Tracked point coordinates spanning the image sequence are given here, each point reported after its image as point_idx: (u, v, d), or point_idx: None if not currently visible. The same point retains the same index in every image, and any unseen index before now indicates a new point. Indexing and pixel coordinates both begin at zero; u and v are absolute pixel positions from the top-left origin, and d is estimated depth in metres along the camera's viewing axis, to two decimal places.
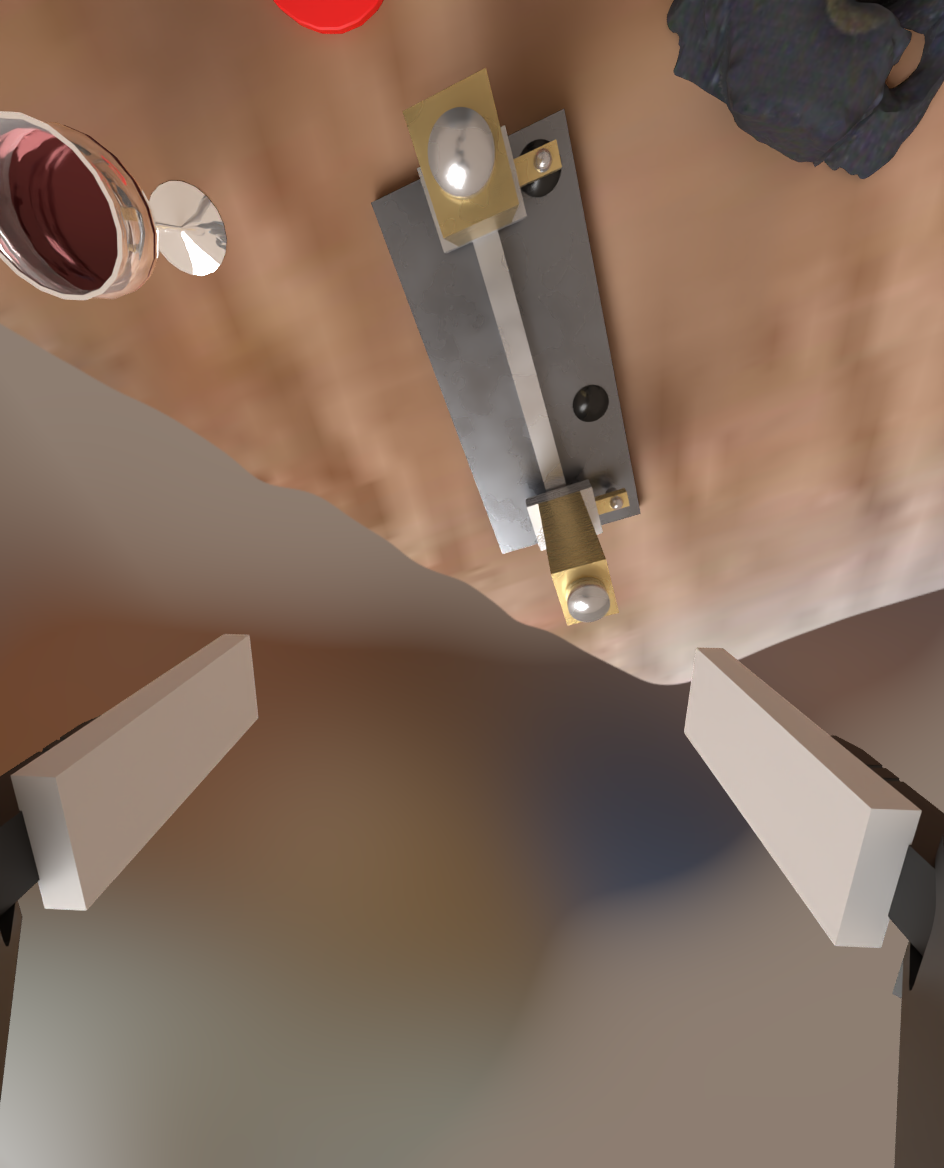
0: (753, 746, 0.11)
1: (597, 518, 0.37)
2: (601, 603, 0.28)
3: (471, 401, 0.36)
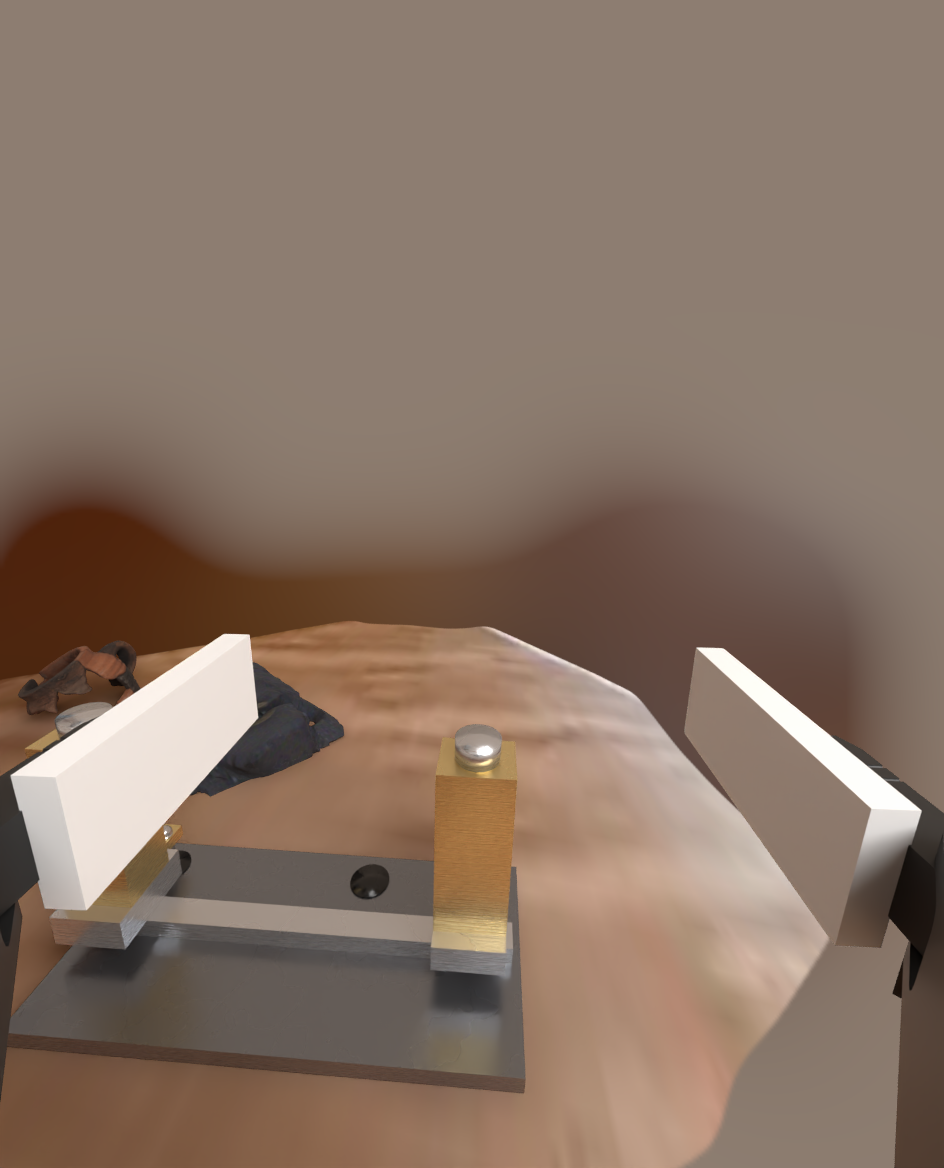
0: (753, 746, 0.11)
1: None
2: (480, 729, 0.26)
3: (271, 1012, 0.25)
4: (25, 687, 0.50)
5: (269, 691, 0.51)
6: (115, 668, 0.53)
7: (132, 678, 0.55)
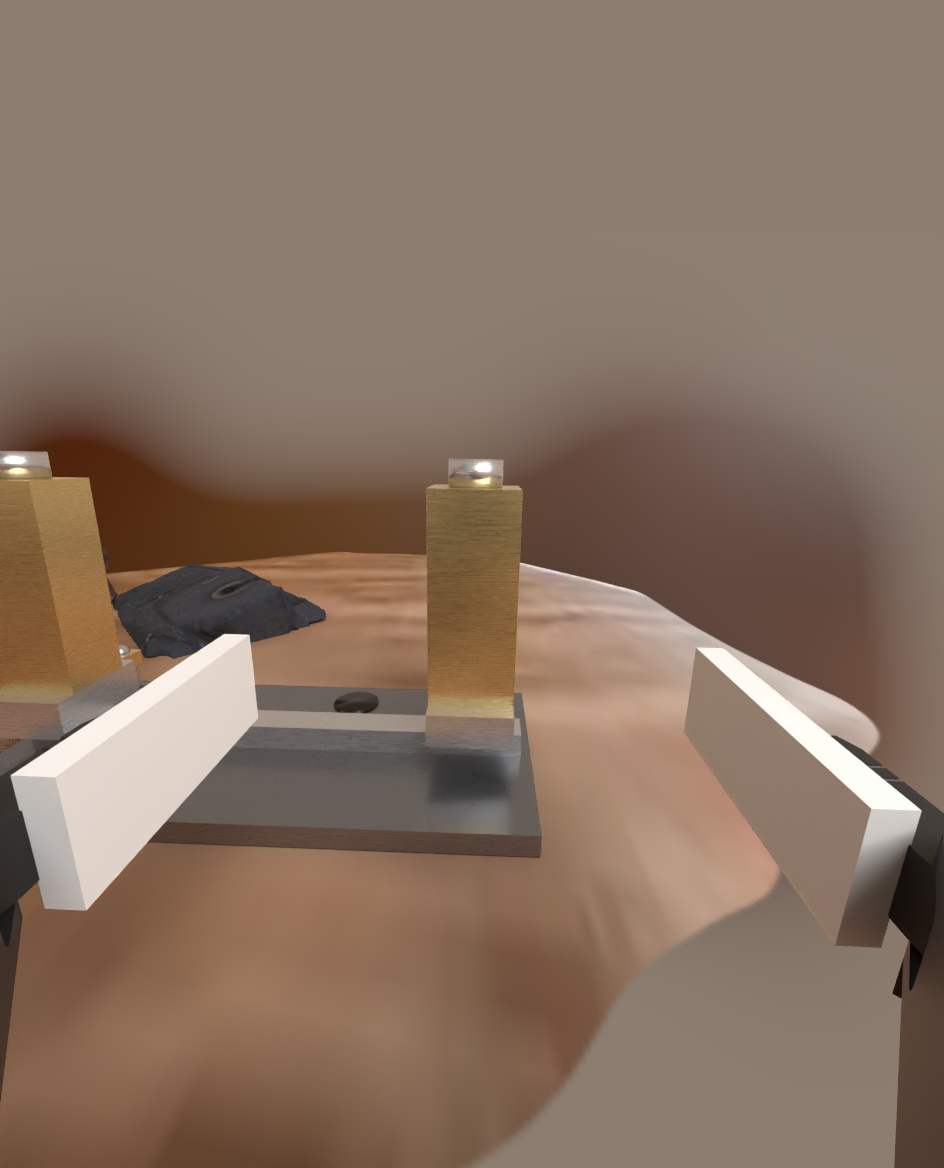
0: (753, 746, 0.11)
1: None
2: None
3: (237, 793, 0.21)
4: None
5: (244, 573, 0.47)
6: None
7: None
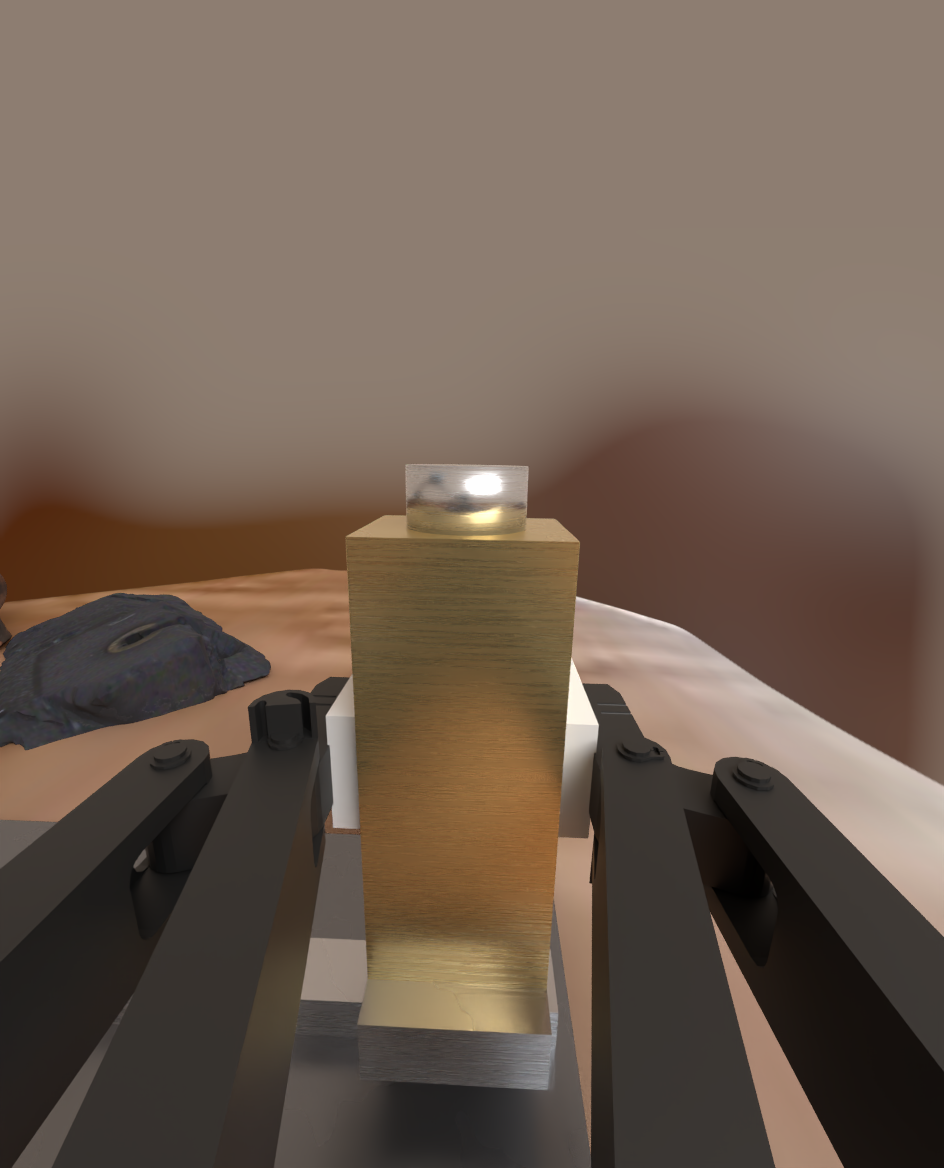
0: None
1: None
2: None
3: None
4: None
5: (164, 612, 0.35)
6: None
7: None
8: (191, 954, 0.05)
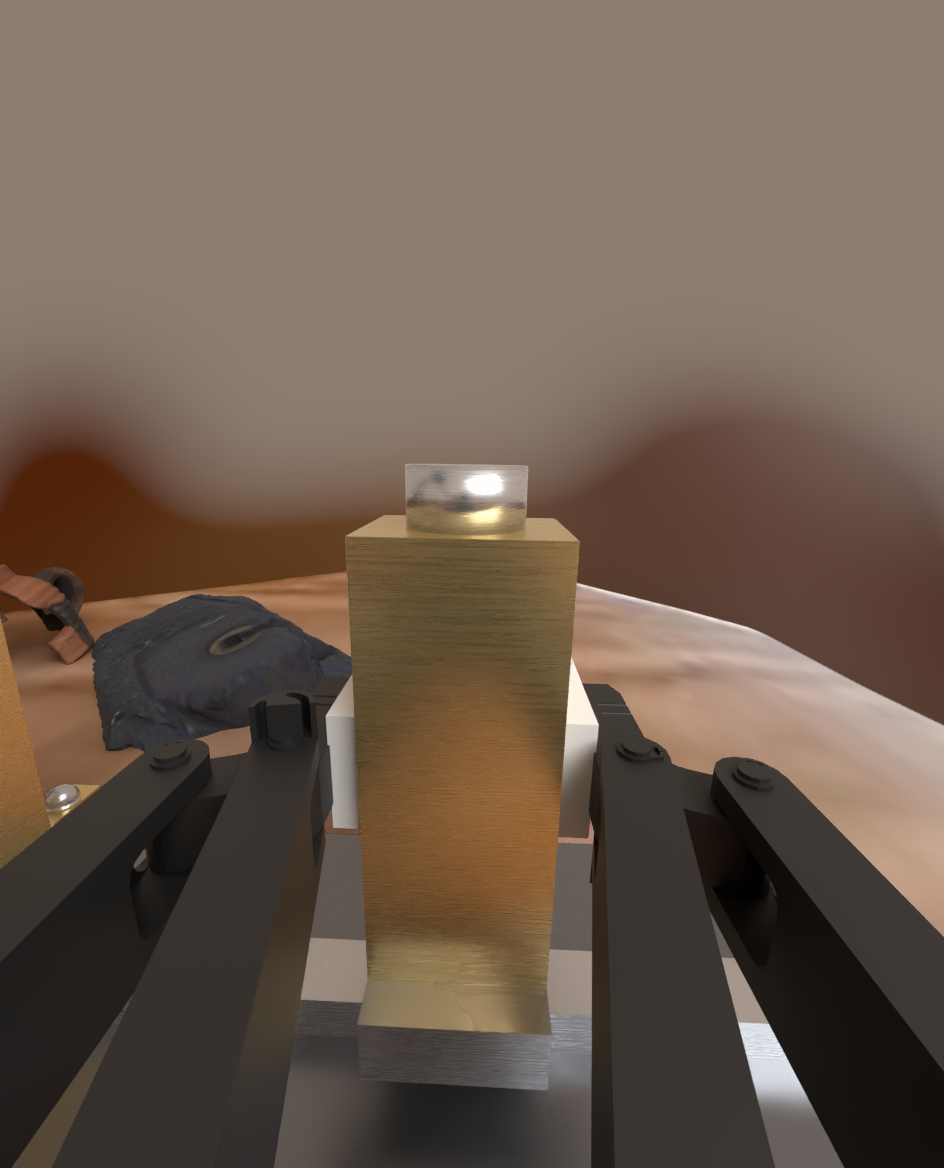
0: None
1: None
2: None
3: None
4: None
5: (256, 614, 0.35)
6: (47, 595, 0.36)
7: (75, 615, 0.39)
8: (191, 954, 0.05)
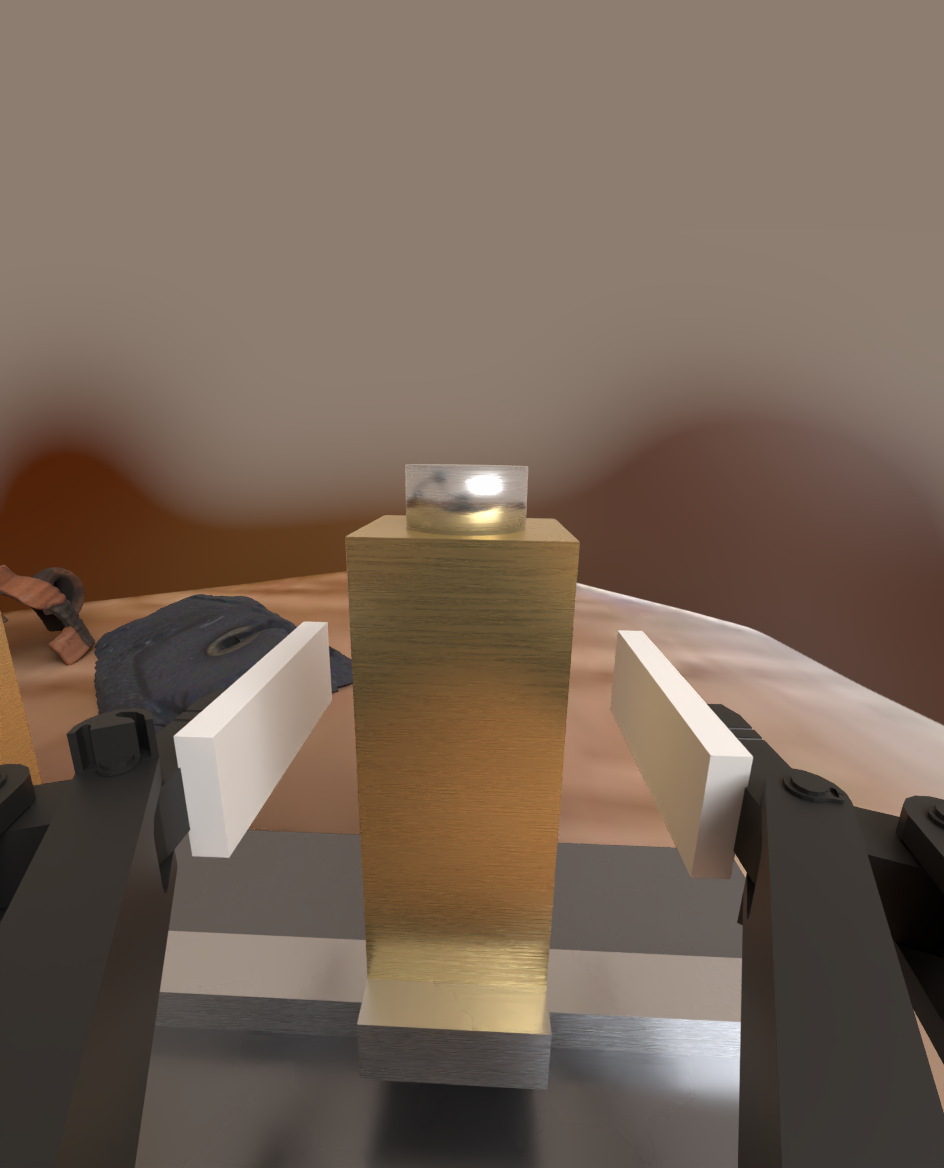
0: (649, 714, 0.12)
1: None
2: None
3: None
4: None
5: (255, 615, 0.35)
6: (47, 595, 0.36)
7: (76, 615, 0.38)
8: (5, 1006, 0.05)
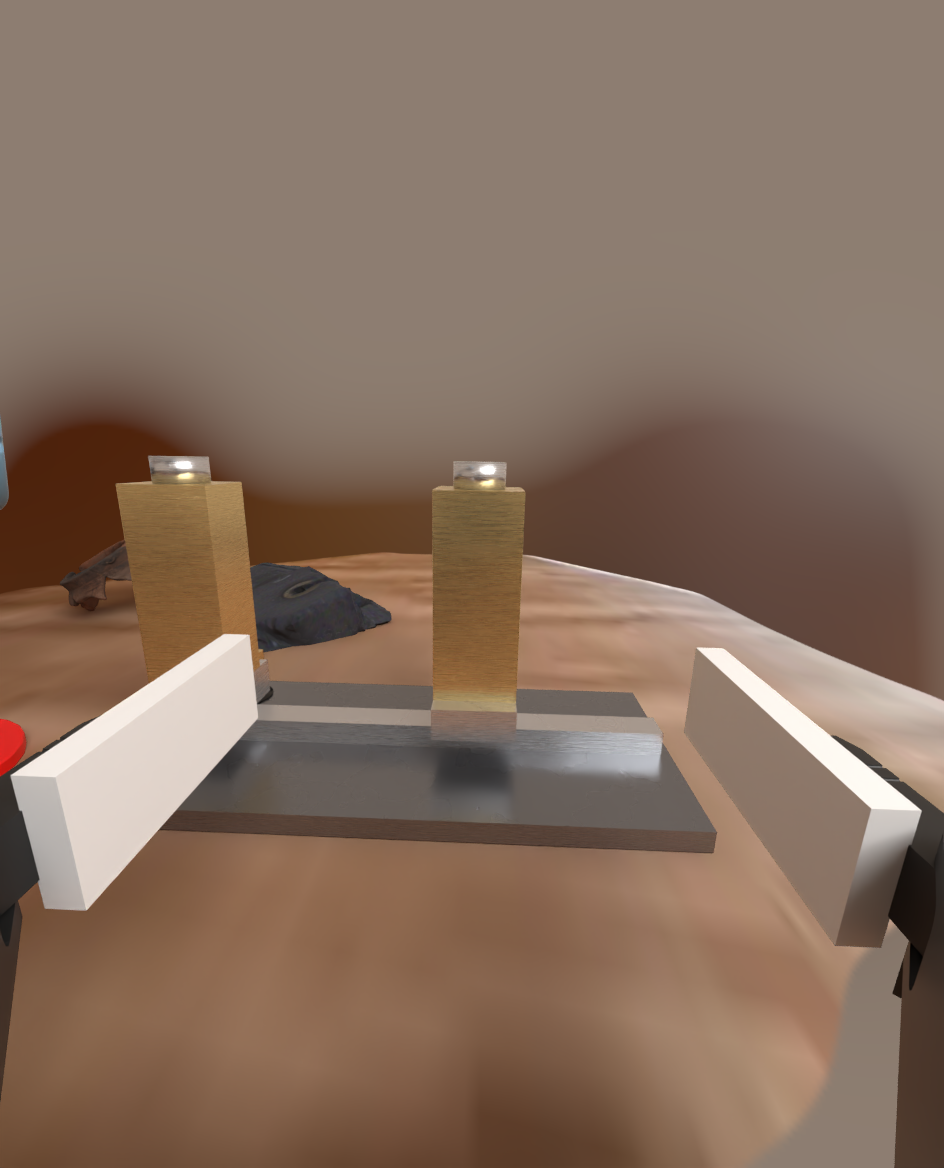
0: (753, 746, 0.11)
1: None
2: None
3: (403, 789, 0.22)
4: (66, 577, 0.45)
5: (314, 573, 0.48)
6: None
7: None
8: None
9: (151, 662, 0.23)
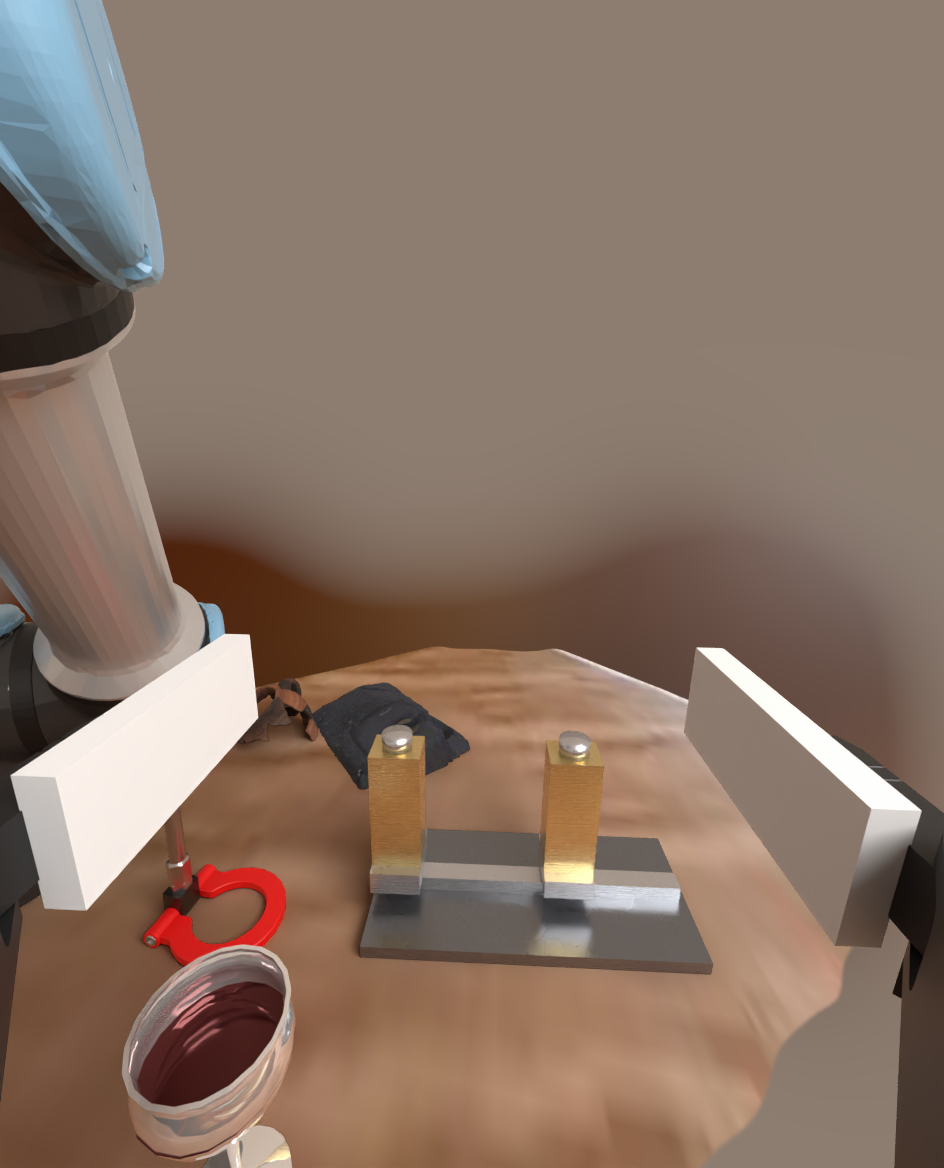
0: (753, 746, 0.11)
1: None
2: (574, 734, 0.38)
3: (531, 931, 0.37)
4: None
5: (410, 710, 0.64)
6: (301, 702, 0.63)
7: None
8: None
9: (374, 849, 0.39)
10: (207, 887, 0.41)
